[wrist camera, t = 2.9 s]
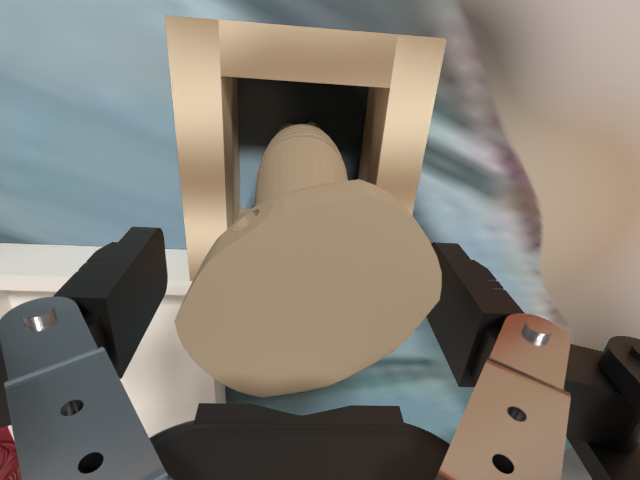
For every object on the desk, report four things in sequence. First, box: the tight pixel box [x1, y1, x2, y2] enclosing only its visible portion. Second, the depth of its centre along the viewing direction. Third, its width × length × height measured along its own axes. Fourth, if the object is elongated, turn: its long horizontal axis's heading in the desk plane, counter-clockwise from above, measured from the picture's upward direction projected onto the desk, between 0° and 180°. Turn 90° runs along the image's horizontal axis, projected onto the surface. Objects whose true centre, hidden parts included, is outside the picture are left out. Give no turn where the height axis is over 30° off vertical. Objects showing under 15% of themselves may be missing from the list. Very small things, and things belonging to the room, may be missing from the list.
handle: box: [175, 122, 442, 398], centre depth 16 cm, size 5×6×15 cm
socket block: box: [165, 15, 447, 281], centre depth 20 cm, size 12×11×5 cm
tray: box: [0, 243, 226, 442], centre depth 26 cm, size 14×14×4 cm
